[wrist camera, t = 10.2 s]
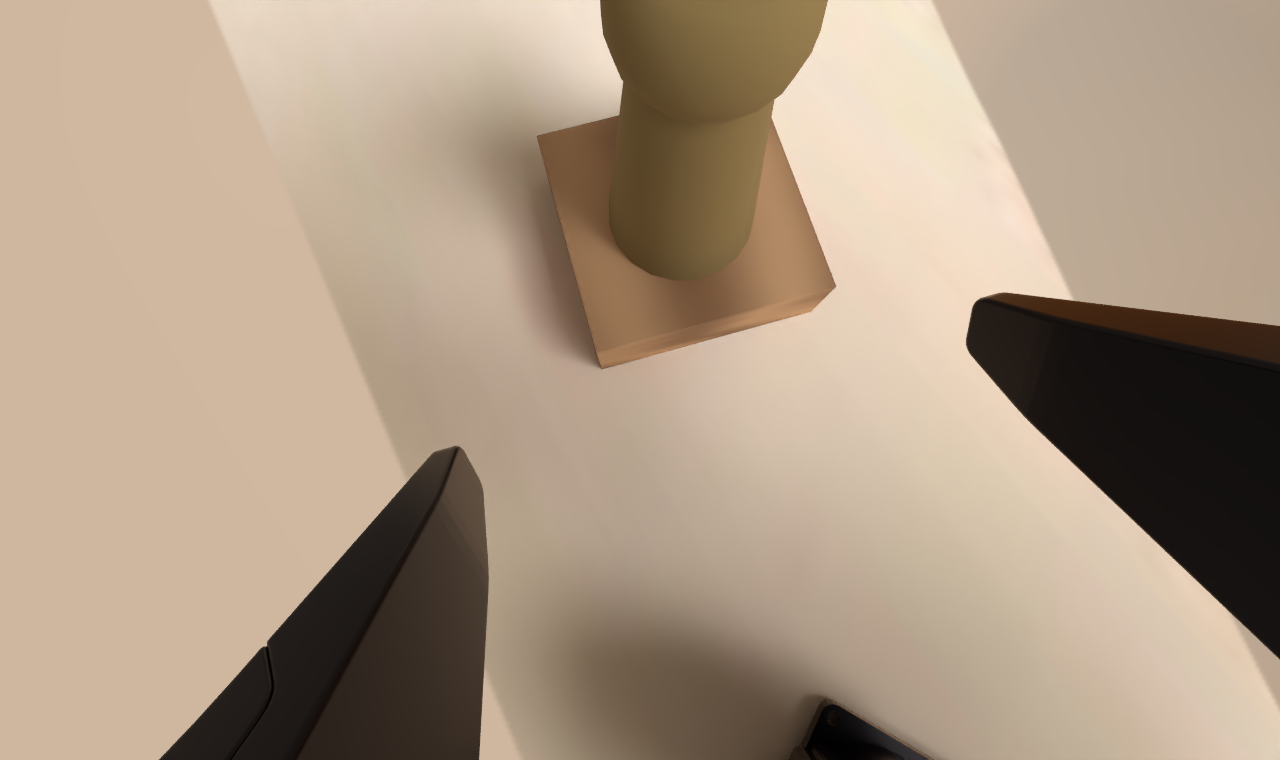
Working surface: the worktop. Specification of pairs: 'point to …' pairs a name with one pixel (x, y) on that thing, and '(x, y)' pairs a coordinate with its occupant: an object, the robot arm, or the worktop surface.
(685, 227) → the cork
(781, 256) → the base block
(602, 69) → the worktop surface
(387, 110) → the worktop surface
